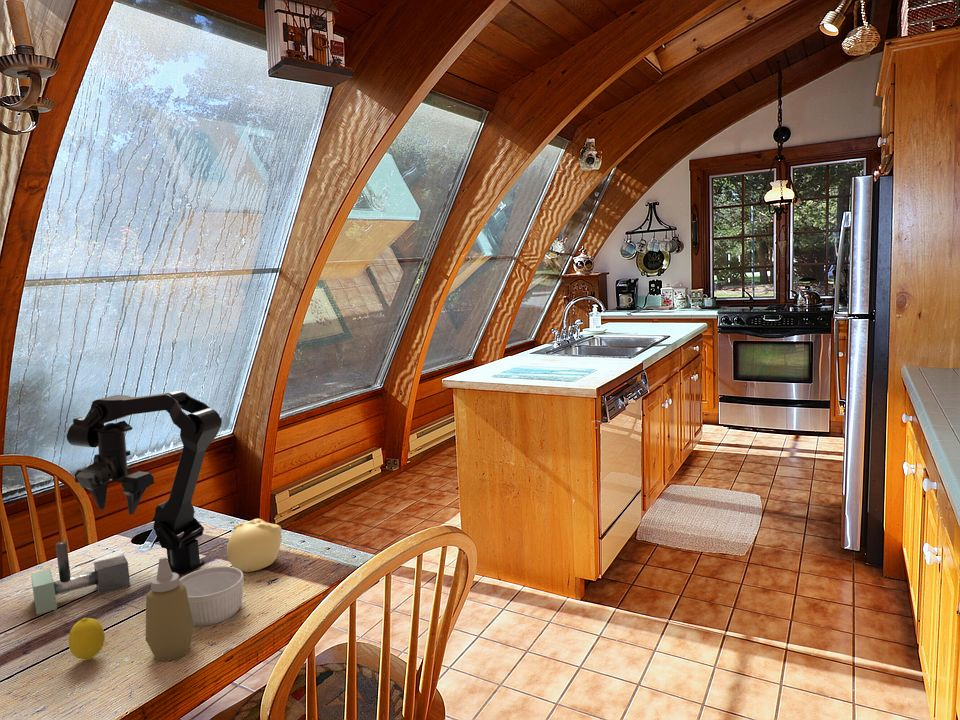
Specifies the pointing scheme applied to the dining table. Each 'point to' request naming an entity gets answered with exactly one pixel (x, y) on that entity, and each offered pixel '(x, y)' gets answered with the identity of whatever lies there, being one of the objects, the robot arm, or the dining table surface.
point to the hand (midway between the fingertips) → (116, 511)
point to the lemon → (86, 638)
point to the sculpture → (254, 545)
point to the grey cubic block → (112, 574)
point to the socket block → (43, 591)
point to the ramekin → (213, 593)
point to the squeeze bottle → (168, 615)
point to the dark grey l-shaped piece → (66, 580)
